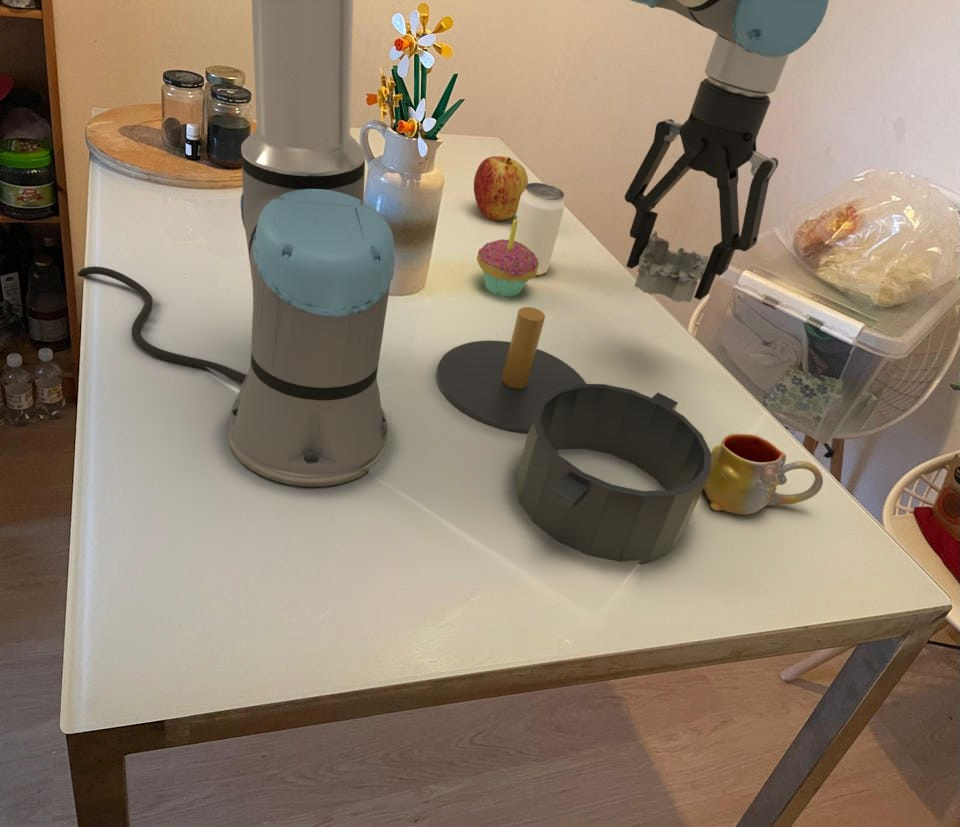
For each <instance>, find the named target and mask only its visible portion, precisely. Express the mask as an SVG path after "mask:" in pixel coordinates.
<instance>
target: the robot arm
mask: <svg viewBox="0 0 960 827" xmlns="http://www.w3.org/2000/svg"><path fill="white" fill-rule="evenodd" d="M630 1H631V2H634V3H637V4H641V5H645V6H648V7H649V8H650V9H655V8H660V9H665V10H668V11H672V12H674V13H676V14H678V15H679V16H682V17H684V18H686V19H687V20H689V21H691V22H694V23H695V24H697V25H699V26H701V27H703V28H705V29H709V30H710V31H712V32H714V33H715V34H716V37H715V39H714V42H713V45H712V48H711V50H710V54H709V57H708V58H707V59H708V60H707V62H706V65H705V68H704V73H705V76H706V78H704V79H703V80H701V81H700V83H699V85H698V89H697V91H696V95H695V97H694V101H693V104H692V106H691V110H690V113H689V117H688V118H687V120H685V122H684V123H679V122H675V121H674V120H673V119H671V118H667V119H664V120H662V121H659V122H657V123H656V126H655V129H654V135H653V142H652V143H651V146H650V147H649V149H648V151H647V153H646V155H645V156H644V158H643V160H642V162H641V164H640V166H639V168H638V170H637V171H636V173H635V176H634V177H633V179H632V181H631V183H630V184H629V187H628V189H627V191H626V192H625V194H624V200H625V201H626V202H627V203H630V204H631V205H632V206H633V207H634V208H635V214H634V218H633V221H632V224H631V227H630V230H629V237H630V238H633V239H634V240H633V241H634V242H633V244H632V247H631V251H630V254H629V257H628V259H627V260H628V261H627V262H626V267H627V268H629V269H634V268H636V267H637V266H639V259H640V256H641V254H642V253H643V251H644V249H645V247H646V246H647V244H648V241H649V239H650V237H651V236H652V234H653V233H652V232H653V231H654V230H653V229H654V227H655V225H656V221H657V218H658V215H659V213H657V212H655V211H654V210H653V209H655V208H656V206H658V204H659V203H660V201H661V200H663V198H664V197H665V196H667V194H669V192H670V191H671V190H672V189H673V188H674V187H675V186H676V185H677V184H678V183H679V181H680V180H681V179H682V178H683V177H685V175H686V174H687V173H688V172H689V171H690V170H693V171H696V172H703V173H705V174H706V175H708V176H709V177H712V178H714V179H716V187H717V189H718V197H719V200H718V201H719V217H720V234H721V235H720V236H721V237H720V238H721V241H720V242H718V243H717V244H715V245H713V248H712V250H711V253H710V255H709V257H708V261H707V265H706V267H705V270H704V272H703V275H702V278H701V279H700V281H699V283H698V285H697V287H696V290H695V293H694V295H693V296H694V297H693V298H695V299H696V300H699V301H701V300H702V299H703V298H705V297H706V296H707V295H709V293H710V291H711V289H712V285H713V283H714V280H715V278H716V276H719V277H720V276H722V275H723V274H724V273H725V272H726V271H727V270H728V269H729V266H730V264H731V261H732V260H733V256H734V254H735V252H736V251H737V250H738V251H742V252H746V251H747V252H748V251H749V250H750V249H752V248H753V247H755V245H756V244H757V242H758V238H759V232H760V227H761V222H762V218H763V213H764V208H765V203H766V200H767V199H766V198H767V193H768V189H769V184H770V180H771V178H772V177H773V175H774V173H775V171H776V169H777V168H778V166H779V160H778V158H776V157H770V158H769V157H768V156H766V155H765V154H762V153H761V152H759V151H757V138H758V135H759V133H760V130H761V128H762V125H763V123H764V120H765V118H766V115H767V112H768V109H769V107H770V105H771V100H770V96H769V94H772V93H773V92H774V93H775V91H776V89H777V87H778V84H779V81H780V78H781V76H782V74H783V71H784V68H785V66H786V63H787V61H788V59H789V57H790V55H791V54H792V53H794V52H796V51H798V50H799V49H801V48H803V46H805V44H807V43H808V42H809V41H810V39H812V37H813V36H814V34H816V32H817V30H818V29H819V27H820V26H821V24H822V23H823V21H824V19H825V16H826V13H827V11H828V7H829V6H828V5H829V0H630ZM353 15H354V0H251V17H252V18H251V20H252V41H253V42H252V43H253V67H254V68H253V69H254V71H253V72H254V92H255V115H256V116H255V120H256V127H255V130H254V131H253V132H252V133H250V135H249V136H247V137H246V139H244V140H243V142H242V143H241V145H240V151H241V152H240V154H241V157H240V158H241V175H242V177H241V178H242V192H241V196H240V203H239V204H240V216H241V221H242V225H243V228H244V232H245V237H246V238H245V239H246V244H247V252H248V260H249V267H250V268H249V269H250V277H251V283H252V322H251V324H252V325H251V345H250V346H251V348H250V349H251V352H250V354H251V355H250V367H249V369H248V371H247V373H243V372H241V371H238V370H236V369H233V368H231V367H228V366H225V365H223V364H219V363H217V362H213V361H210V360H205V359H203V358H202V359H201V358H197V357H192V356H187V355H183V354H179V353H175V352H171V351H169V350H168V351H167V350H165V349H162V348H159V347H157V346H155V345H153V344H151V343H150V342H148V341H147V340H146V339H144V338H143V336H142V334H141V329H142V326H143V325H144V323H145V321H146V319H147V318H148V317H149V315H150V313H151V311H152V308H153V305H154V304H153V302H154V300H153V296H152V294H150V292H149V291H148V290H147V289H146V288H145V287H144V286H142V284H140V283H139V282H137V281H136V280H134V279H132V278H131V277H129V276H128V275H126V274H123V273H121V272H119V271H117V270H114V269H111V268H108V267H104V266H95V265H94V266H86V267H84V268H81V269H80V270H79V271H78V272H77V274H76V275H77V276H78V277H81V278H83V277H87V276H90V275H101V276H106V277H109V278H112V279H115V280H117V281H118V282H121V283H122V284H124V285H126V286H128V287H130V289H132V290H134V291H135V292H137V293H138V294H139V295H140V296H141V297H142V298H143V301H144V303H143V307H142V309H141V310H140V312H139V313H138V315H137V316H136V318H135V319H134V321H133V323H132V325H131V337H132V339H133V341H134V342H135V344H136V345H137V346H138V347H140V348H141V349H142V350H143V351H145V352H146V353H148V354H149V355H151V356H154V357H157V358H160V359H162V360H166V361H169V362H173V363H176V364H181V365H186V366H190V367H195V368H199V369H203V370H207V371H210V370H213V371H216V372H218V373H220V374H222V375H224V376H226V377H229V378H231V379H233V380H235V381H237V382H240V383H242V384H241V387H240V389H239V392H238V394H237V397H236V399H235V400H234V402H233V405H232V407H231V410H230V413H229V416H228V443H229V447H230V448H231V451H232V452H233V454H234V455H235V457H236V459H238V460H239V461H240V462H241V463H242V464H243V465H244V466H245V467H246V468H248V469H249V470H251V471H252V472H254V473H256V474H257V475H259V476H262V477H263V478H266V479H268V480H272V481H274V482H277V483H281V484H285V485H290V486H296V487H297V486H298V487H309V488H310V487H311V488H314V487H315V488H316V487H327V486H335V485H340V484H344V483H348V482H350V481H353V480H356V479H358V478H360V477H362V476H364V475H366V474H367V473H368V472H369V470H370V469H371V468H372V467H374V466H375V465H376V464H377V463H378V462H379V460H380V459H381V457H382V456H383V454H384V452H385V449H386V445H387V444H386V443H387V439H388V433H389V431H388V429H389V428H390V425H388V424H391V423H390V422H391V420H389V423H388V422H387V418H386V414H385V411H384V409H383V407H382V403H381V394H380V389H379V384H378V379H377V378H378V370H379V362H380V356H381V349H382V342H383V336H384V328H385V323H386V322H385V321H386V315H387V308H388V301H389V294H390V287H391V285H392V284H391V282H392V280H393V278H394V273H395V266H396V264H395V241H394V240H395V238H394V235H393V232H392V229H391V227H390V224H389V222H388V221H387V220H386V218H385V217H384V216H383V215H382V214H381V213H380V212H379V211H378V210H377V209H376V208H374V207H373V206H371V205H364V203H365V179H366V178H365V175H366V151H365V149H364V148H363V147H362V146H361V144H360V143H358V141H357V140H356V139H355V138H354V137H353V136H352V135H351V110H352V109H351V105H352V104H351V102H352V98H351V97H352V96H351V95H352V68H353V67H352V64H353V27H354V26H353V24H354V23H353V22H354V21H353V19H354V18H353V17H354V16H353ZM678 136H680V141H681V144H682V147H683V151H684V152H683V154H681V156H679V158H678V159H677V160H676V161H675V162H674V163H673V165H672V166H671V167H670V169H669V170H668V171H667V172H666V173H665V174H664V175H663V177H661V179H659V181H658V182H657V183H656V184H655V185H654V186H653V187H652V189H651V190H650V191H649V192H648V193H647V194H646V195H645V192H646V190H647V189H648V186H649V185H650V183H651V181H652V179H653V178H654V176H655V174H656V172H657V170H658V168H659V166H660V165H661V163H662V161H663V159H664V158H665V156H666V154H667V152H668V150H669V148H670V147H671V144H672V142H673V143H674V142H675V141H676V140H677V138H678ZM748 162H750V164H751V168H750V173H751V175H752V176H753V177H752V180H751V182H750V186H749V191H748V197H747V202H746V207H745V213H744V217H743V222H742V228H741V231H740V218H739V217H740V216H739V215H740V214H739V213H740V212H739V194H738V193H739V192H738V185H739V184H738V183H739V168H741V167H742V166H744V165H745V164H747V163H748ZM652 210H653V211H652ZM391 416H392V415H390V417H389V418H391ZM387 423H388V424H387Z"/></svg>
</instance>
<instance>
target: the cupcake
mask: <svg viewBox="0 0 960 827" xmlns="http://www.w3.org/2000/svg"><path fill="white" fill-rule="evenodd" d="M511 224H512V225H511V229H510V234H509V238H508V239H503V238H501V239H498V240H497V239H496V240H494V241H490V242H486V243H485V244H484V245H483V246H482V247H481V248H479V249H478V252H477V256H476V261H477V263H478V266H479V267H480V269H481V270H482V273H483V278H484V287H485V288H486V289H487V290H488V291H489V292H490V293H493V294H495V295H497V296H502V297H516V296H518V295H520V293H521V292H522V290H523V288H524V287H525V285H526V284H527V283H528V281H529V280H531V279H534V278H535V277H536V276H535V275H536V273H537V267H538V266H539V265H538V264H539V262H538V259H537V258H536V255H534V253H533V252H532V251H530V249H528V248H527V247H526V246H524V245H523V244H521V243H519V242H517V241H514V238H515V233H516V229H517V224H518V220H517V215H516V214H515V218H514V219H513V220H512V223H511Z"/></svg>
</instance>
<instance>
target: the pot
mask: <svg viewBox="0 0 960 827" xmlns="http://www.w3.org/2000/svg"><path fill="white" fill-rule="evenodd" d="M678 405H679V402H678V401H676V400H674V399H672V398H670V397H669V396H667V395H664V394H662V393H660V392H656V393H655V394H654V395H653V396H652V397H651V396H649V395H645V394H643V393H641V392H638V391H636V390H633V389H629V388H624V387H620V386H616V385H615V386H614V385H611V384H604V383H586V384H575V385H571V386H567V387H563V388H559V389H555V390H553V391H552V392H550V393H549V394H548V395H546V396H545V397H544V398H542V399H541V400H540V401H539V402H538V405H537V407H536V410H535V413H534V415H533V418H532V422H531V425H530V429H529V432H528V433H527V437H526V440H525V443H524V447H523V451H522V454H521V457H520V458H521V459H520V462H519V465H518V469H517V473H516V475H515V480H514V482H515V489H516V493H517V497H518V498H517V499H518V502H519V504H520V506H521V507H522V509H523V510H524V511H525V513H526V514H527V516H528V517H529V518H530V521H531V522H532V523H533V524H534V525H536V526H537V527H538V528H539V529H541V530H542V531H544V532H545V533H546V534H547V535H548V536H549V537H550V538H553V540H555V541H556V542H557V543H559V544H562V545H564V546H566V547H569V548H570V549H573V550H575V551H577V552H579V553H582V554H584V555H586V556H590V557H595V558H599V559H605V560H609V561H615V562H632V561H639V562H638V565H640V564H641V565H642V564H646V563H649V562H653V561H656V560H658V559H660V558H662V557H664V556H666V554H668V553H670V552H671V551H672V550H673V549H674V548H675V547H676V545H677V543H678V542H679V541H680V539H681V537H682V536H683V535H684V533H685V530H686V528H687V526H688V524H689V521H690V519H691V517H692V515H693V512H694V510H695V508H696V506H697V504H698V501H699V499H700V496H701V494H702V492H703V491H704V486H705V483H706V481H707V479H708V477H709V474H710V472H711V455H712V454H711V452H712V451H711V450H710V448H709V445H708V443H707V441H706V439H705V437H704V435H703V434H702V433H701V432H700V431H699V430H698V429H697V428H696V427H695V426H694V424H692V422H691V421H690V420H688V419H687V418H686V417H685V416H684V415H683V414H681V413H680V412H678V411H677V410H676V409H677V407H678ZM581 449H582V450H589V451H593V452H599V453H604V454H608V455H612V456H614V457H617V458H618V459H621V460H623V461H626V462H628V463H630V464H632V465H635V466H636V467H637V468H639V469H640V470H642V471H643V472H645V473H646V474H648V475H649V476H651V477H652V478H654V479H655V480H656V482H657V483H658V484H659V485H660V487H662V489H663V490H639V489H634V488H630V487H625V486H620V485H615V484H611V483H609V482H607V481H605V480H602V479H600V478H598V477H595V476H593V475H590V474H588V473H586V472H584V471H582V470H581V469H579V467H578V468H577V466H575V465H574V464H572V463H571V462H569V461H568V460H567V459H565V457H562V456H561V455H560V454H559V453H558V452H557V451H560V450H581Z"/></svg>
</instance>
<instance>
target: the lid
mask: <svg viewBox="0 0 960 827" xmlns="http://www.w3.org/2000/svg"><path fill="white" fill-rule="evenodd" d="M545 320H546V314H545V313H544V312H543V311H541V309H538V308H535V307H531V306H523V307H520V308H519V309H518V311H517V315H516V319H515V323H514V327H513V331H512V334H511V335H512V336H511V339H510V341H504V340H477V341H470V342H466V343H463V344H460V345H457V346H455V347H453V348H451V349H450V350H448V351H447V352H446V353H444V355H443V356H442V357H441V358H440V360H439V362H438V365H437V368H436V381H437V382H436V383H437V384H438V387H439V389H440V391H441V393H442V394H443V396H444V397H445V398H446V399H447V400H448V401H449V402H450V403H451V404H452V405H453V406H454V407H456V408H457V409H458V410H459V411H461V412H463V413H464V414H466V415H467V416H469V417H471V418H472V419H474V420H477V421H478V422H481V423H483V424H485V425H488V426H492V427H494V428H497V429H501V430H506V431H508V432H509V431H510V432H517V433H522V434H523V433H524V434H528V432H529V429H530V425H531V422H532V418H533V415H534V413H535V410H536V407H537V405H538V402H539V401H540V400H541V399H542V398H544V397H545V396H546V395H548V394H549V393H550V392H552V391H553V390H555V389H559V388H563V387H567V386H571V385H575V384H587V383H586V381H585V380H584V379H583V377H582V376H581V375H580V374H579V373H578V372H577V371H576V370H575V369H574V368H573V367H572V366H571V365H569V364H568V363H566V362H565V361H564V360H562V359H560V358H558V357H556V356H555V355H553V354H550V353H548V352H546V351H544V350H542V349H539V348H538V346H539V342H540V337H541V334H542V330H543V327H544V323H545Z"/></svg>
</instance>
